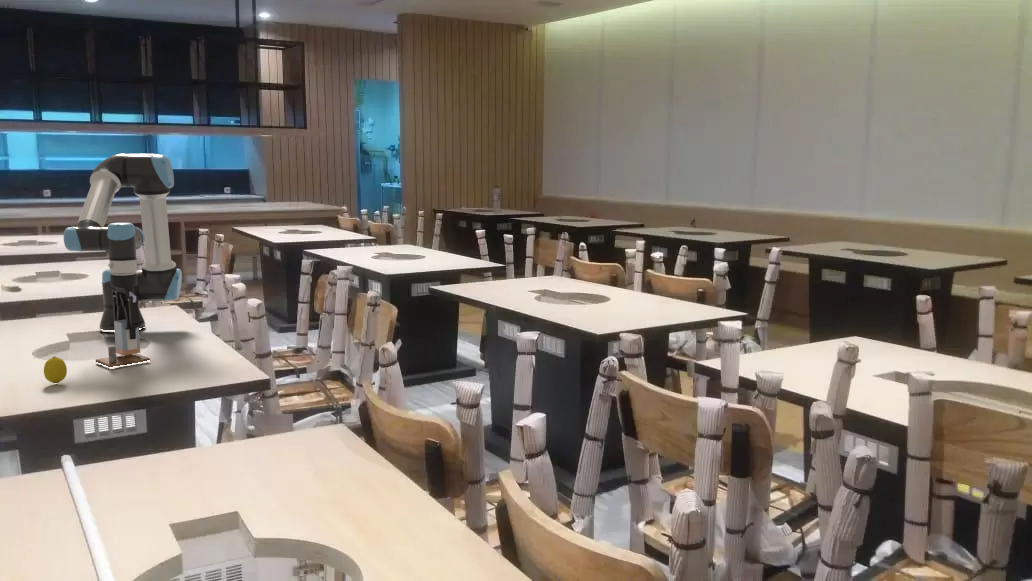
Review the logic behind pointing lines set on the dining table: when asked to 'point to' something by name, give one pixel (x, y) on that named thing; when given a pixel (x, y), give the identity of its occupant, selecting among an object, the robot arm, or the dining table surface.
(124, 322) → the sleeve
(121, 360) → the pin board
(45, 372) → the lemon
